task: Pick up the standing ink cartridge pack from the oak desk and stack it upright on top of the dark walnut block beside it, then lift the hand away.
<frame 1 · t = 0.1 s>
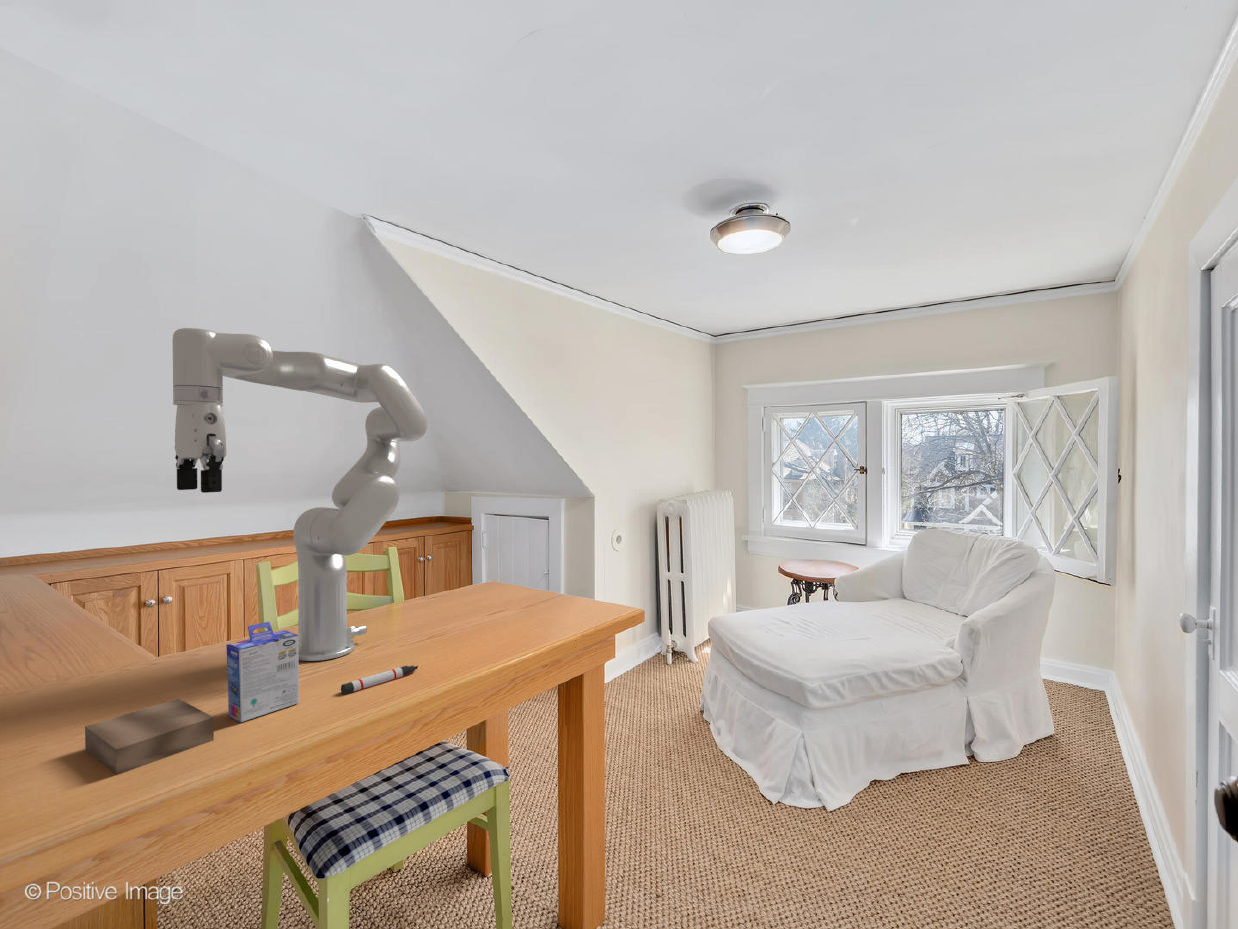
hand: (199, 490, 112), 37 cm above the table, tool pointing down, fingers open, 9 cm apart
ink cartridge box: (264, 710, 104), on the table
marker: (382, 684, 117), on the table
walnut block: (150, 748, 92), on the table
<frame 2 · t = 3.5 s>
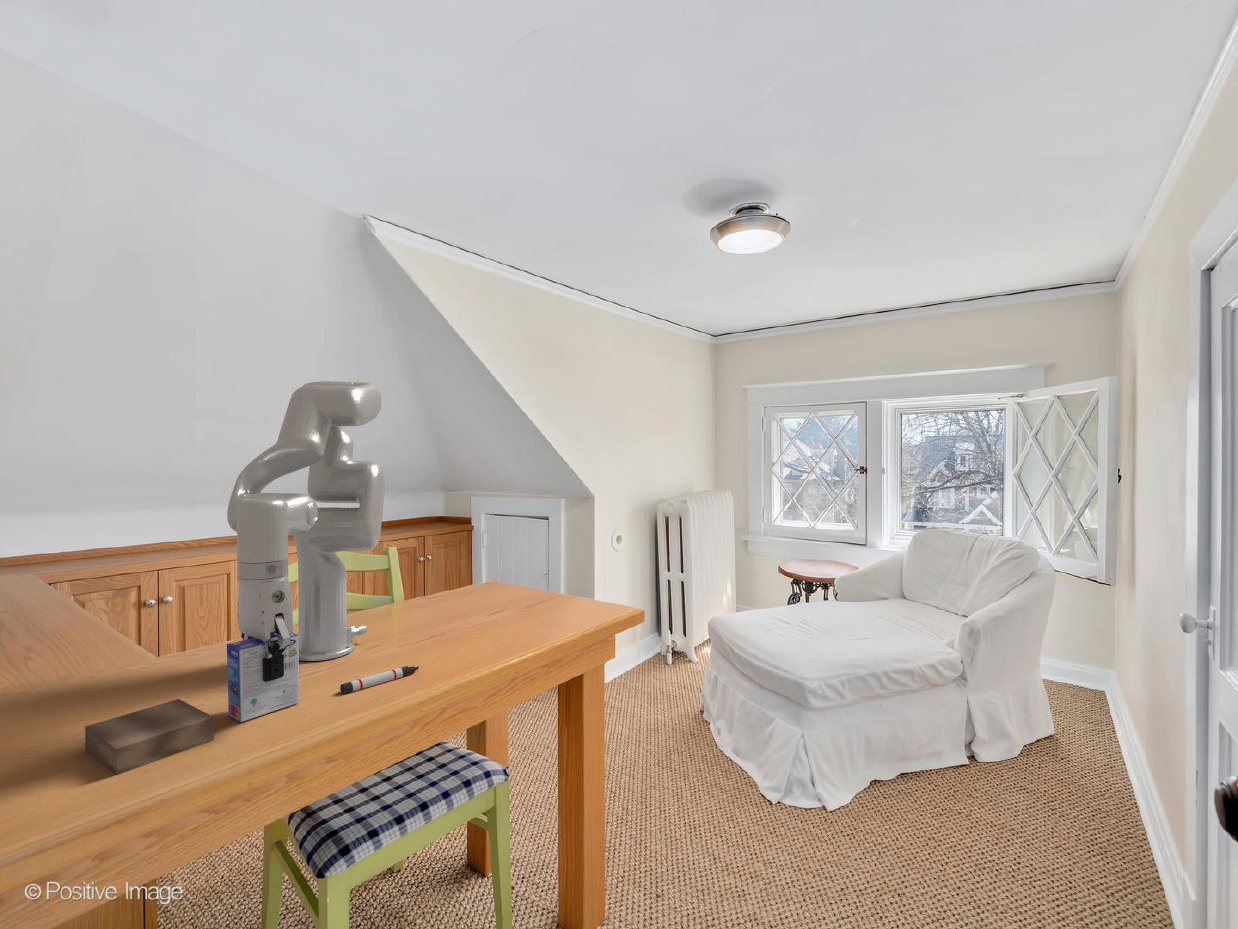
hand: (263, 674, 104), 6 cm above the table, tool pointing down, fingers closed on ink cartridge box, 5 cm apart
ink cartridge box: (264, 710, 104), on the table, touching gripper
everything else where it was.
when the fingers open (11 cm above the table, at t = 9.7 s): ink cartridge box drops 2 cm, point 3 cm above the table.
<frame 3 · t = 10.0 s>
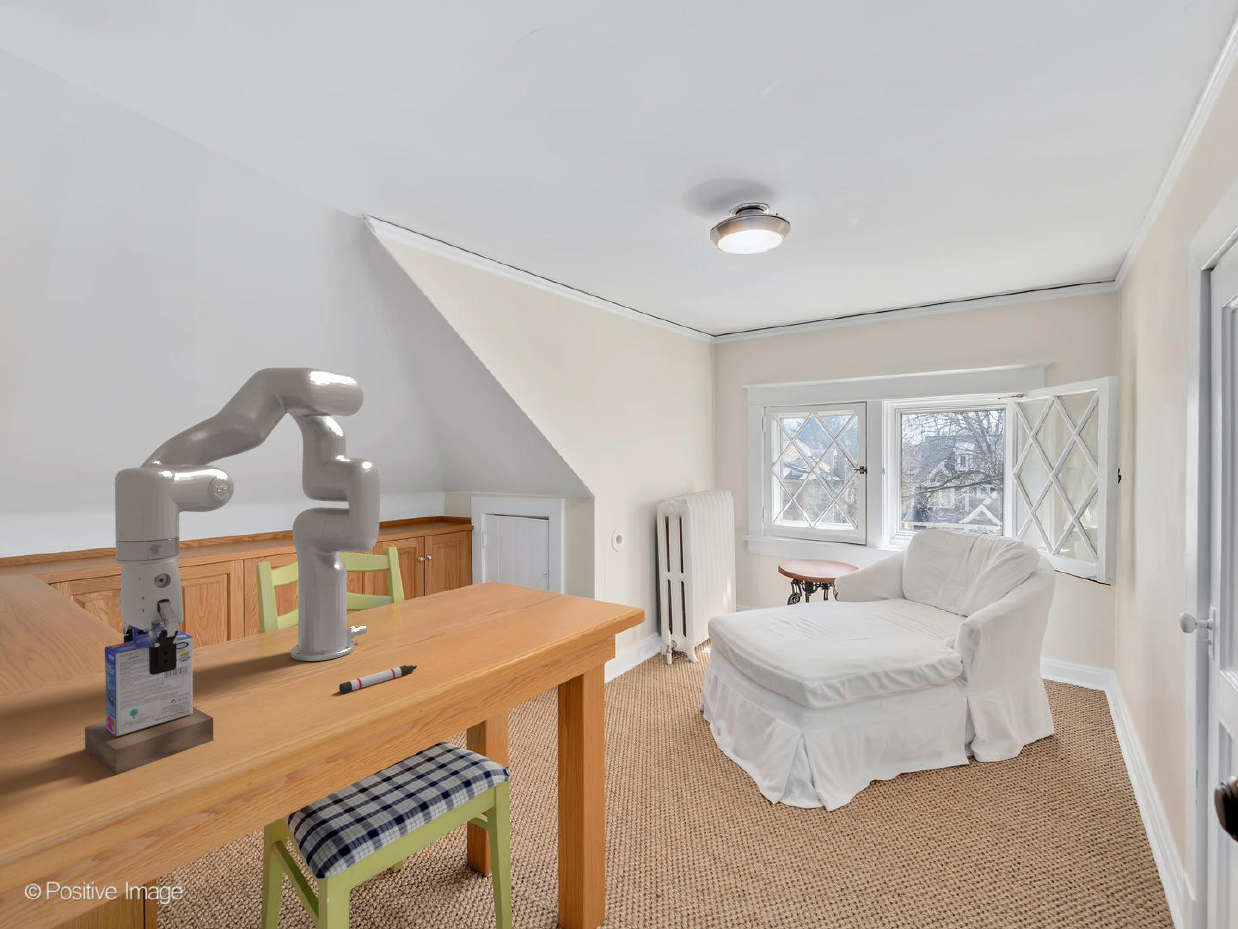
hand: (149, 665, 91), 12 cm above the table, tool pointing down, fingers open, 8 cm apart
ink cartridge box: (150, 722, 92), point 3 cm above the table
everything else where it was.
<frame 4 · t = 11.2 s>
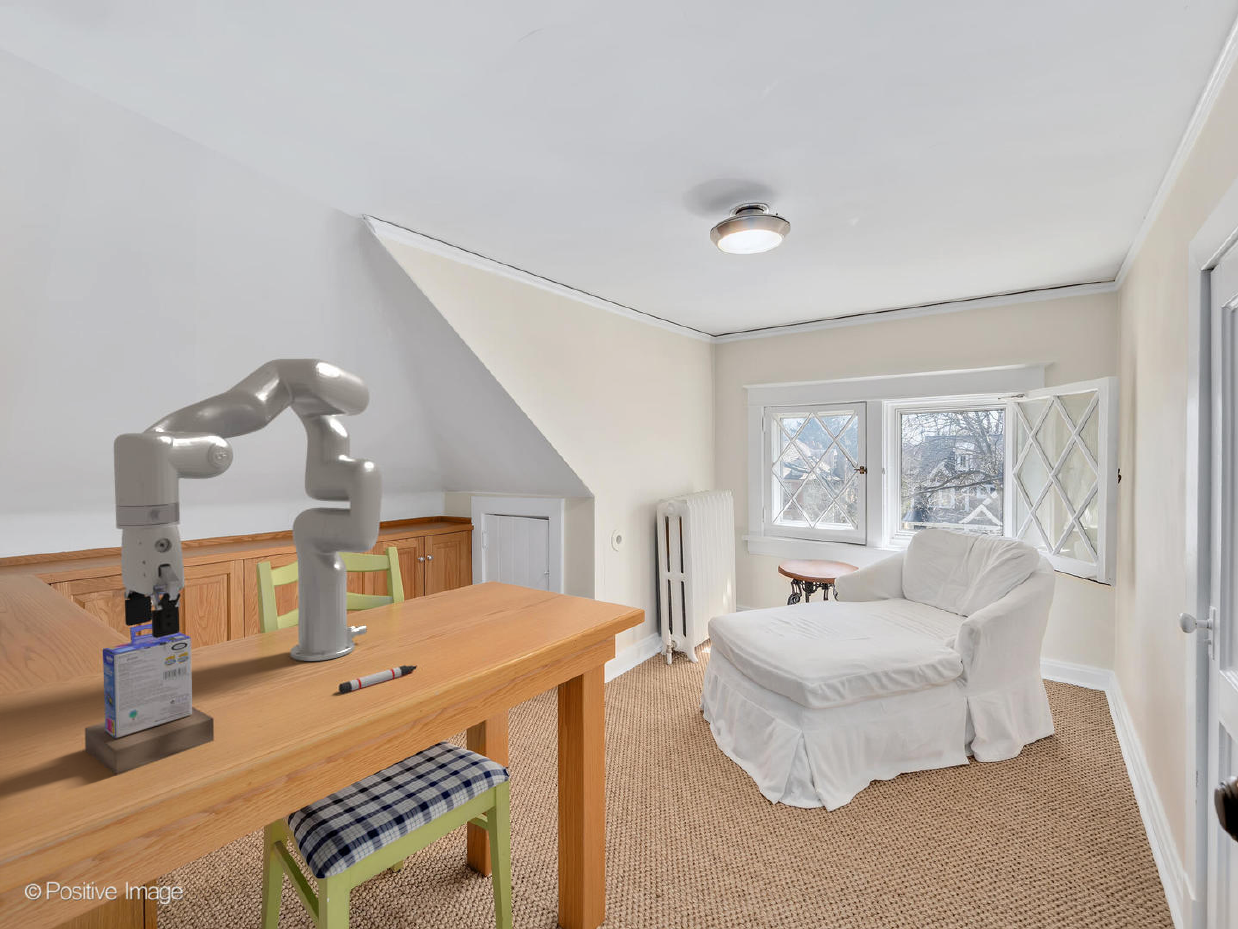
hand: (152, 629, 91), 17 cm above the table, tool pointing down, fingers open, 9 cm apart
ink cartridge box: (149, 723, 92), point 3 cm above the table, touching walnut block
walnut block: (150, 749, 91), on the table, touching ink cartridge box
everything else where it was.
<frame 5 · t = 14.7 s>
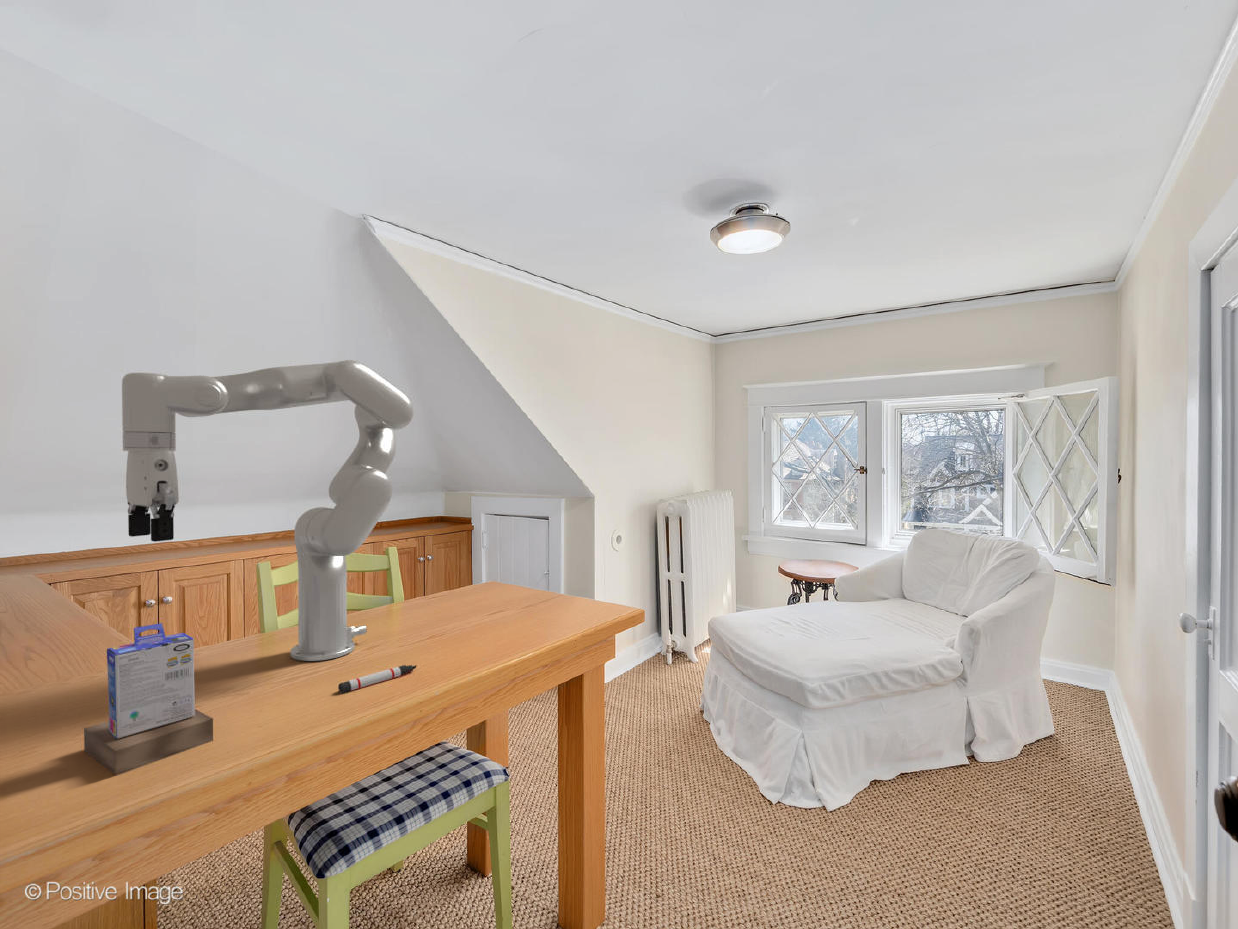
hand: (150, 538, 109), 28 cm above the table, tool pointing down, fingers open, 9 cm apart
at the end: ink cartridge box 0.4 cm off-centre on the walnut block, point 3.8 cm above the walnut block's base; ink cartridge box tilted 0°; the gripper is holding nothing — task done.
